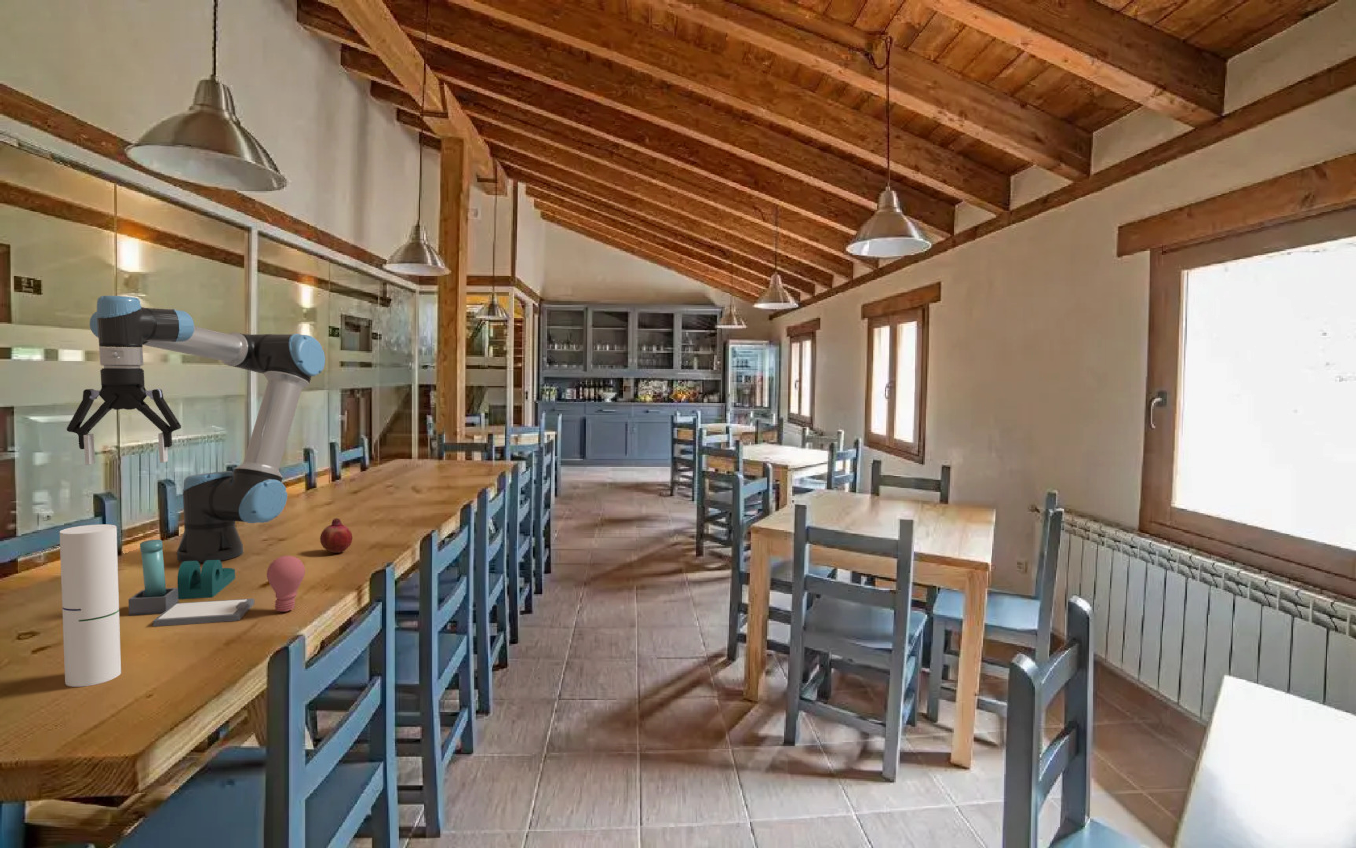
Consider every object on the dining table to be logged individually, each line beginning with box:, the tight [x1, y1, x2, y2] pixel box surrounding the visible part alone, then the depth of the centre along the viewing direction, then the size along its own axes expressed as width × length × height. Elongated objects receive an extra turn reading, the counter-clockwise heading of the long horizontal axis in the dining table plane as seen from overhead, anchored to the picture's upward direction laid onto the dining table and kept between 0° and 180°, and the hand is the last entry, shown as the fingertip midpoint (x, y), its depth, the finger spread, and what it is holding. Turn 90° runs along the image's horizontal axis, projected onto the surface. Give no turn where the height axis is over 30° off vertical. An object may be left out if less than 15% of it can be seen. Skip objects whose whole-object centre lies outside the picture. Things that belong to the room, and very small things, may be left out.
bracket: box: [177, 560, 236, 600], centre depth 166 cm, size 18×7×8 cm, turn 16°
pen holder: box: [128, 587, 179, 617], centre depth 150 cm, size 7×7×4 cm
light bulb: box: [266, 555, 306, 613], centre depth 150 cm, size 7×7×12 cm
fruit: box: [319, 517, 353, 554], centre depth 199 cm, size 8×8×10 cm
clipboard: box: [152, 598, 255, 627], centre depth 147 cm, size 11×15×2 cm
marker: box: [139, 539, 167, 598], centre depth 150 cm, size 4×4×14 cm
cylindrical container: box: [59, 523, 122, 688], centre depth 116 cm, size 7×7×25 cm
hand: (127, 463), depth 156 cm, fingers open, 13 cm apart
